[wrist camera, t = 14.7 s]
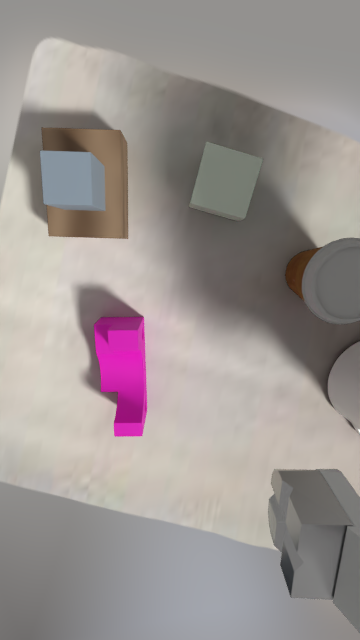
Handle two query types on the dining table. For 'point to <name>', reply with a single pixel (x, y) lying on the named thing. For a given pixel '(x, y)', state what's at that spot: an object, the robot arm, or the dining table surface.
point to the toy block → (123, 370)
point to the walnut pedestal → (114, 158)
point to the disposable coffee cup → (329, 280)
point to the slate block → (73, 180)
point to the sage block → (225, 182)
